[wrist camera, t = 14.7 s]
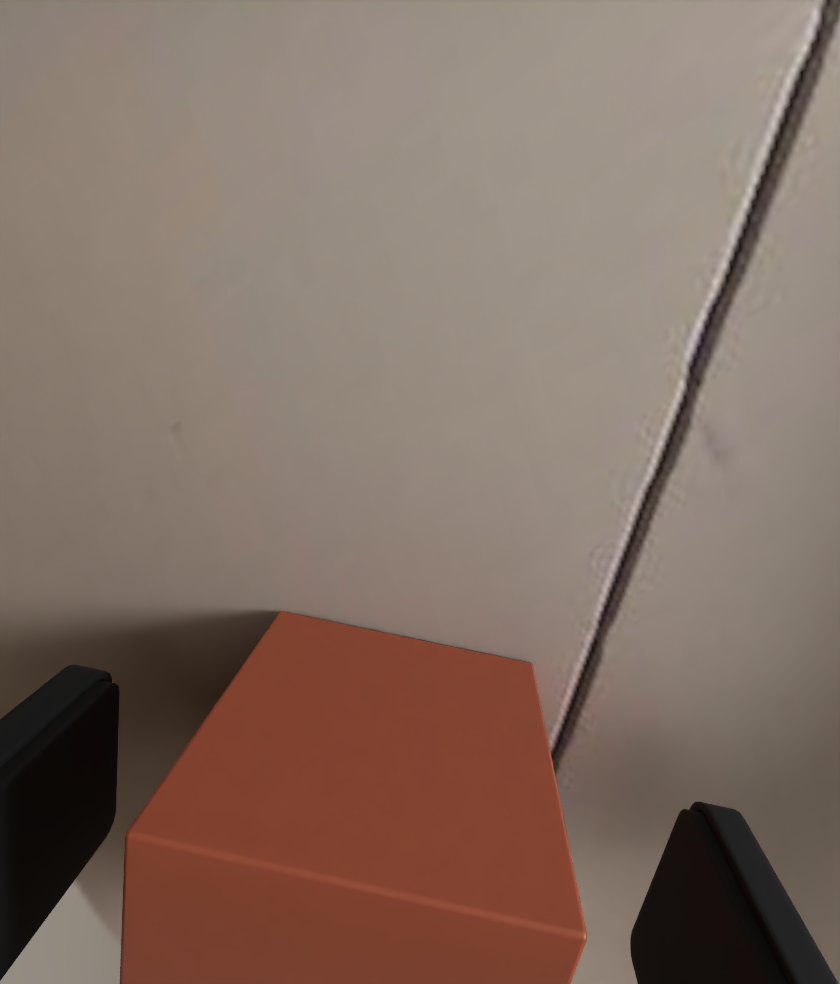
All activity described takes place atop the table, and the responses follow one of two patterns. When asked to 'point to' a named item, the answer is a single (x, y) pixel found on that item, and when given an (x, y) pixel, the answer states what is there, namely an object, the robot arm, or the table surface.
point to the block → (357, 825)
